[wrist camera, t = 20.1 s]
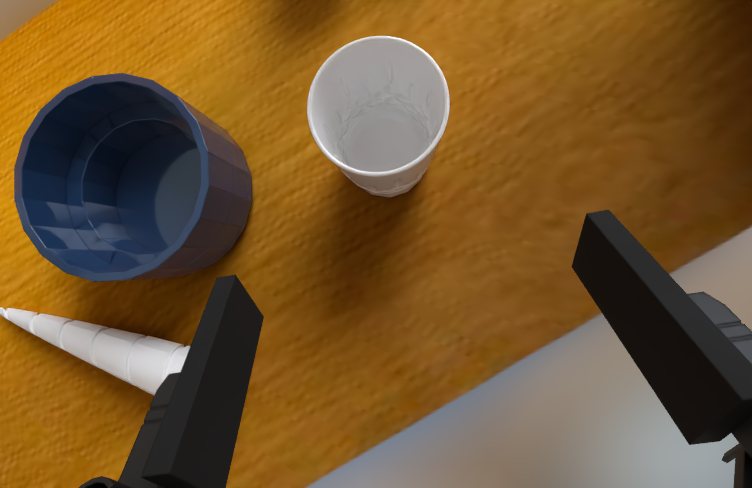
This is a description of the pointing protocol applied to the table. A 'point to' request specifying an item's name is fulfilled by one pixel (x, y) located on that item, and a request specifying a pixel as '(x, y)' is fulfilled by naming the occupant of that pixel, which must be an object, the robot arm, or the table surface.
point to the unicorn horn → (107, 347)
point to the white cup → (379, 112)
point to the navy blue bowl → (129, 182)
